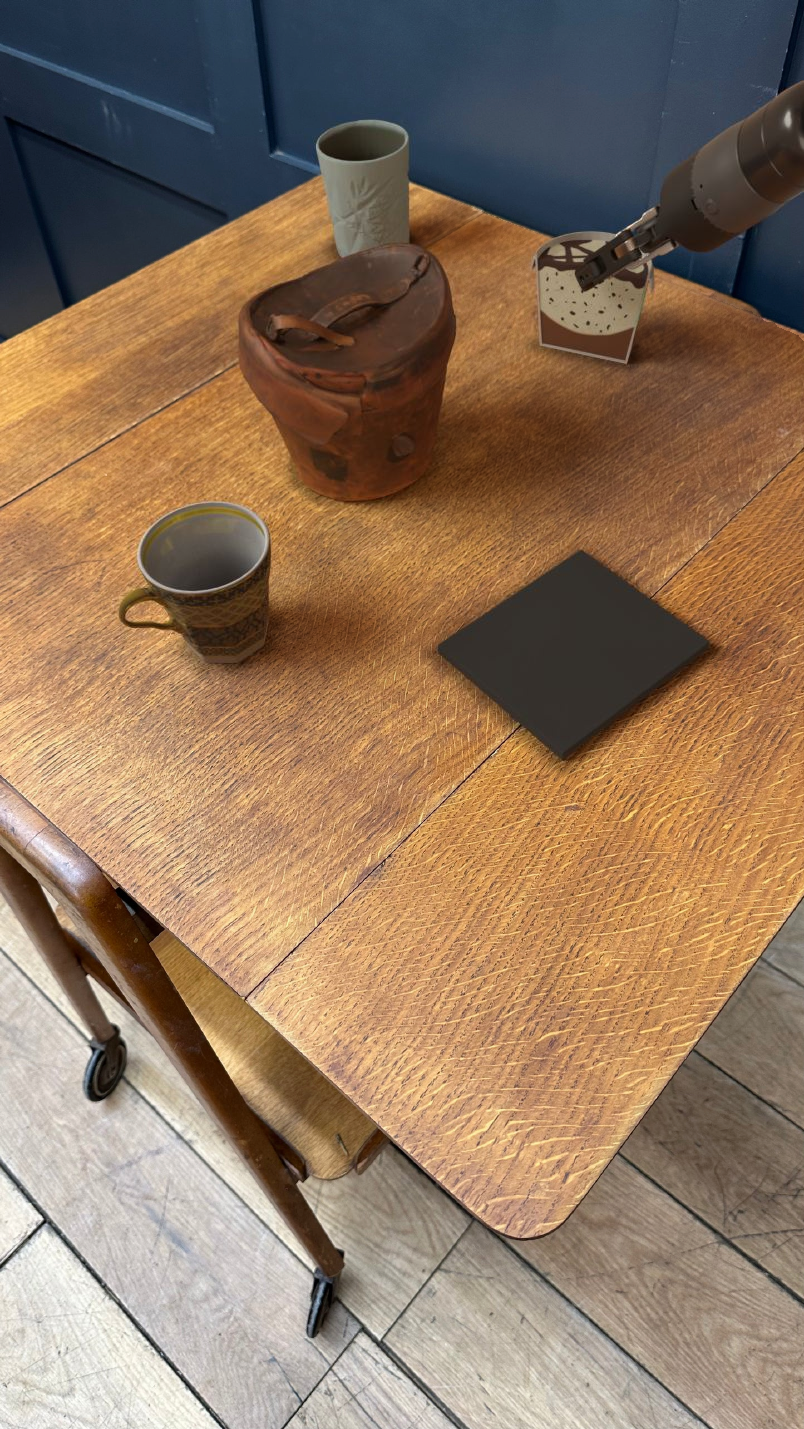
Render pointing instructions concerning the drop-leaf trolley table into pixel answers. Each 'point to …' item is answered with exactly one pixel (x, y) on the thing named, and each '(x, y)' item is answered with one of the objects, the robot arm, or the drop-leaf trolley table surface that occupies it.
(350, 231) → the embossed grey tumbler
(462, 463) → the drop-leaf trolley table surface
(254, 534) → the ceramic cup
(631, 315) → the food container
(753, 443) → the drop-leaf trolley table surface
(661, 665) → the mat
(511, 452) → the drop-leaf trolley table surface
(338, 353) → the case
